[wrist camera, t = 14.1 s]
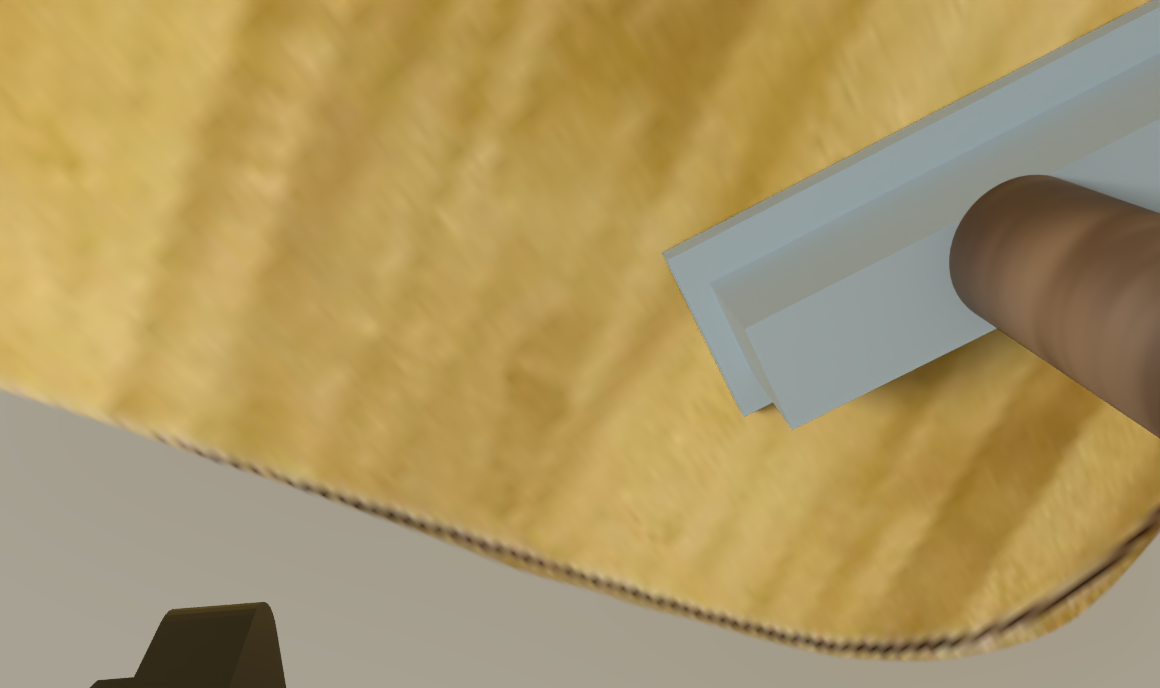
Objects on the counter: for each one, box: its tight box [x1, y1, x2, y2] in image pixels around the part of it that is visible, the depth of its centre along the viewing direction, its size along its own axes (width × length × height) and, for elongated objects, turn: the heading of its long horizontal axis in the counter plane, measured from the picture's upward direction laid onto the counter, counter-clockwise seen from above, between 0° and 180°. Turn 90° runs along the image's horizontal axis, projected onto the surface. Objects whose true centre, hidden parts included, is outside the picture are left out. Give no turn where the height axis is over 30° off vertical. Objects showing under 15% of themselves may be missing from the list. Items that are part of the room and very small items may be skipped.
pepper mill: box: [949, 175, 1160, 438], centre depth 25 cm, size 5×5×12 cm
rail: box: [662, 0, 1160, 430], centre depth 34 cm, size 20×7×6 cm, turn 117°
